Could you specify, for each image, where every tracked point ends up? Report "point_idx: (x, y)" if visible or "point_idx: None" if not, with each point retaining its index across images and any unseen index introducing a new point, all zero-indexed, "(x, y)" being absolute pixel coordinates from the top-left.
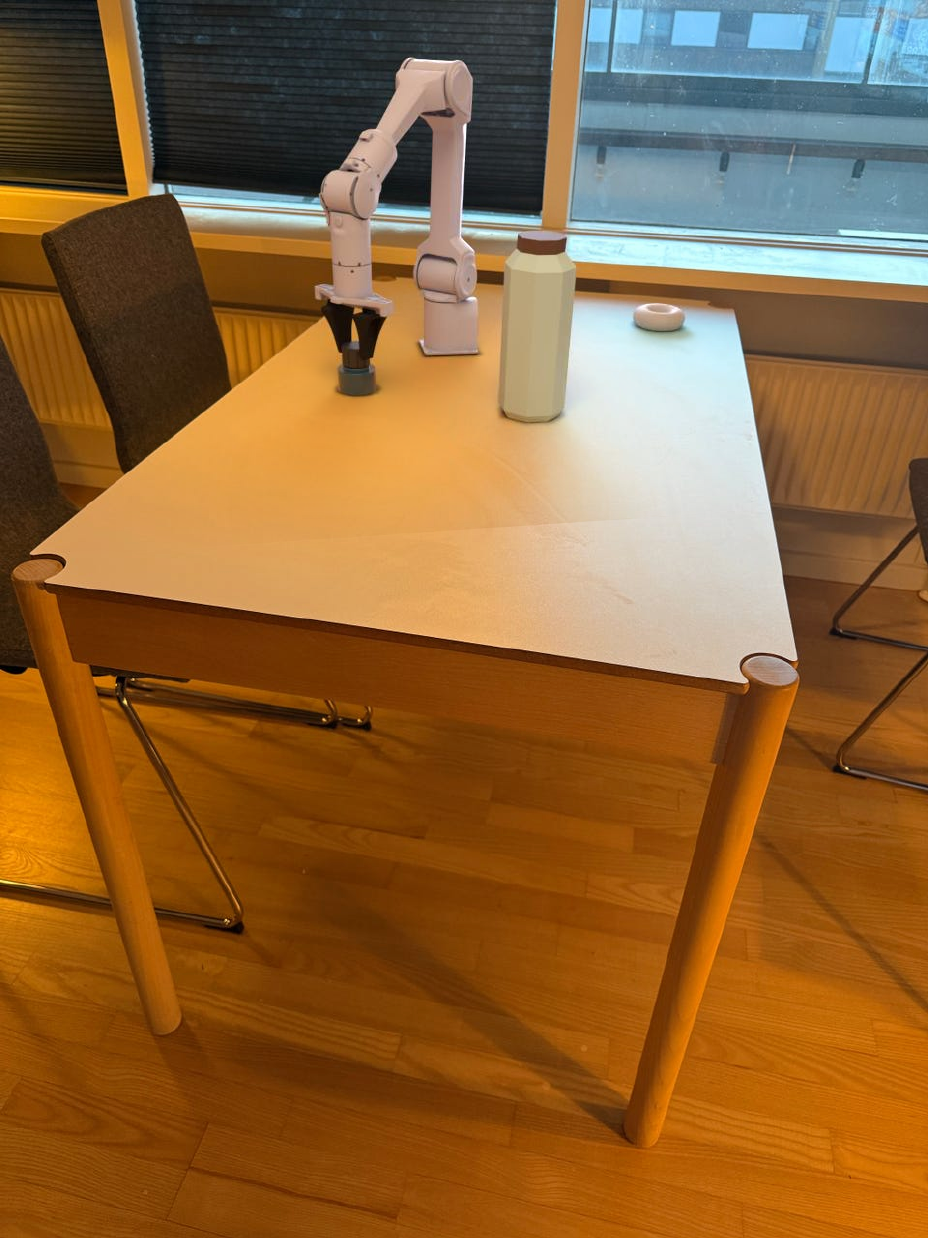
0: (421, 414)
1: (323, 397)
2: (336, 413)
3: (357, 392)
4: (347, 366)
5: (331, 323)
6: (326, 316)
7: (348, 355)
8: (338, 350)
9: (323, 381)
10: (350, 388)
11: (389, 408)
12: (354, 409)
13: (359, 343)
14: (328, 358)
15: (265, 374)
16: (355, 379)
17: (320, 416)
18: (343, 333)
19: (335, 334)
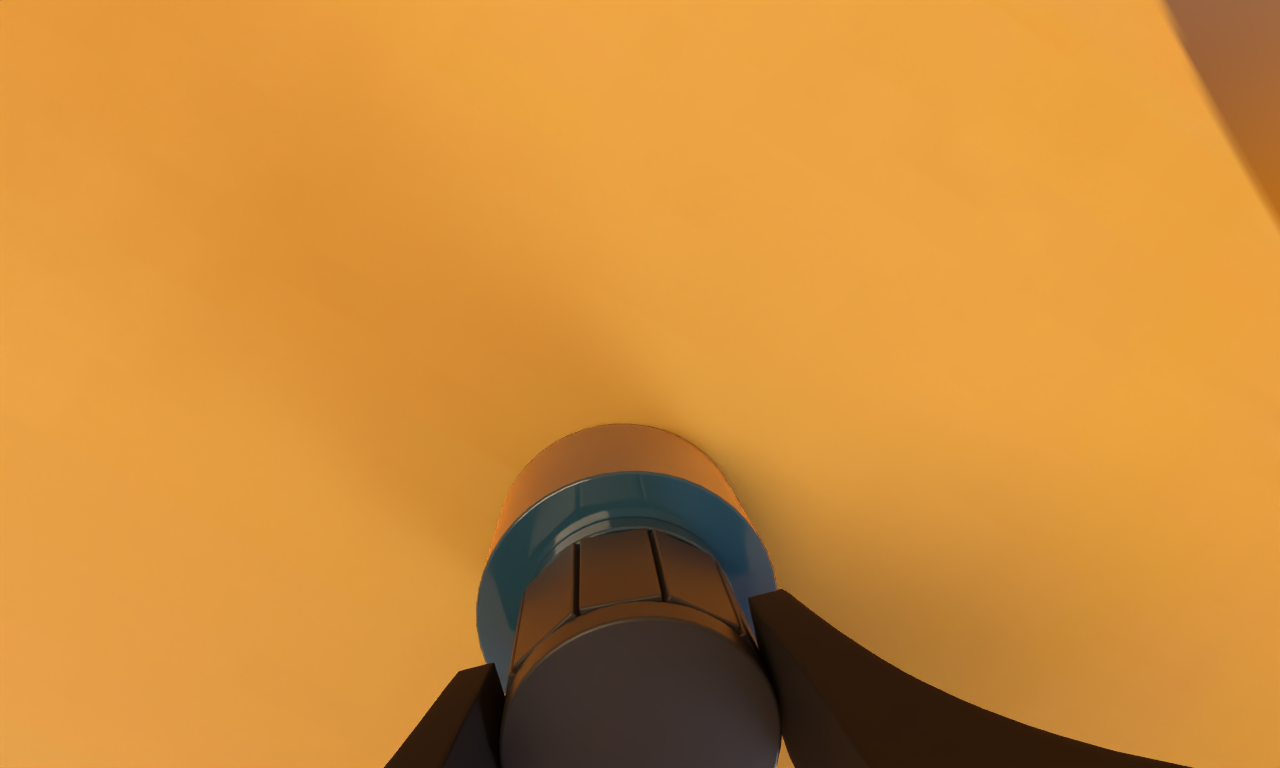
0: (10, 642)
1: (615, 284)
2: (294, 199)
3: (510, 490)
4: (593, 538)
5: (920, 731)
6: (1048, 762)
7: (578, 594)
8: (778, 593)
9: (869, 435)
10: (539, 465)
11: (205, 535)
12: (302, 341)
13: (439, 755)
14: (1185, 658)
15: (1224, 181)
16: (505, 519)
17: (297, 71)
18: (823, 763)
19: (831, 668)
